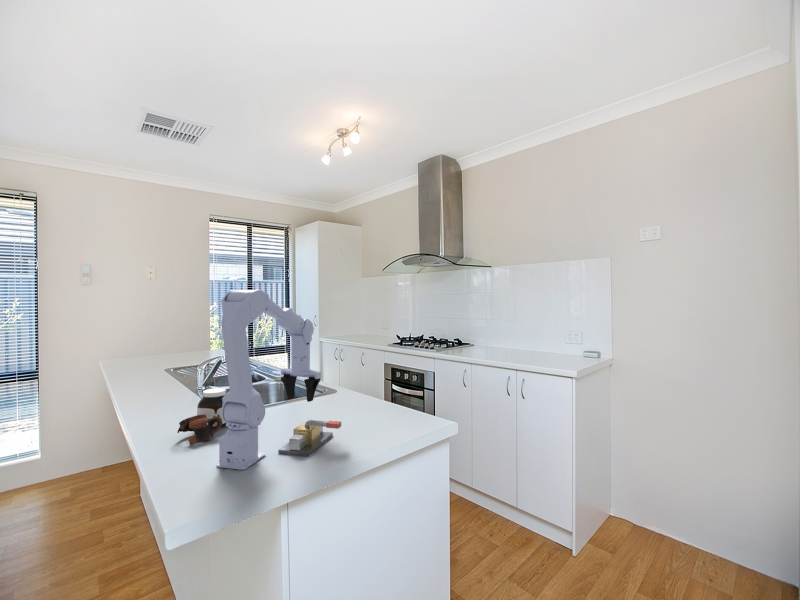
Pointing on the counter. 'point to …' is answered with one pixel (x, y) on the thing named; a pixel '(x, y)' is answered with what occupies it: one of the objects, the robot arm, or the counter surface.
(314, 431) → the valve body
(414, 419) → the counter surface
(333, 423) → the valve lever
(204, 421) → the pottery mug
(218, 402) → the spread jar
